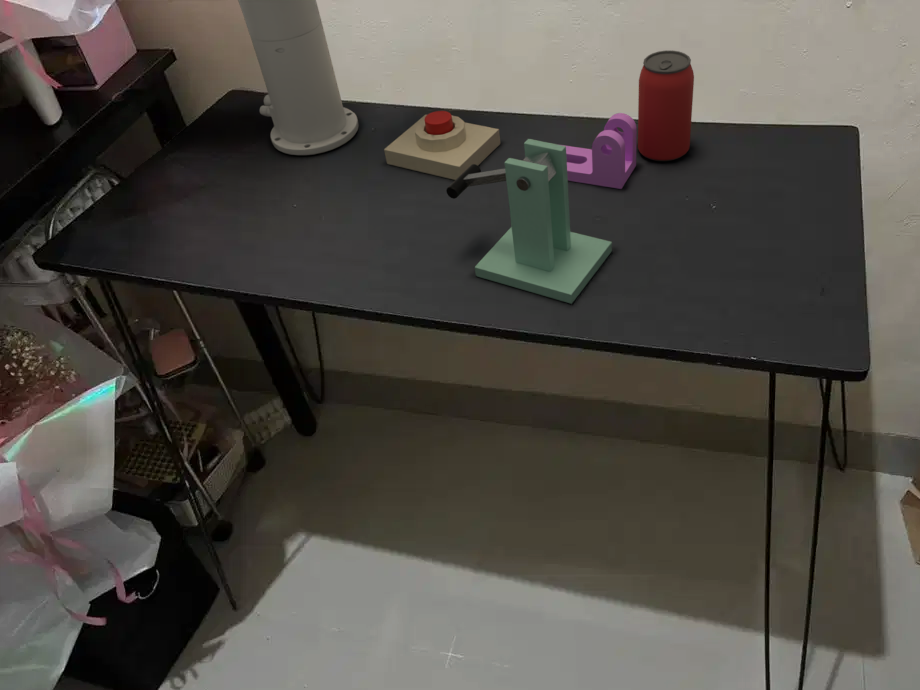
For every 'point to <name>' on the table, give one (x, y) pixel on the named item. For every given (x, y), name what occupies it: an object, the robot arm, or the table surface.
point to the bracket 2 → (606, 155)
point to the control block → (442, 148)
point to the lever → (493, 175)
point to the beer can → (665, 105)
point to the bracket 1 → (542, 232)
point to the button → (438, 123)
